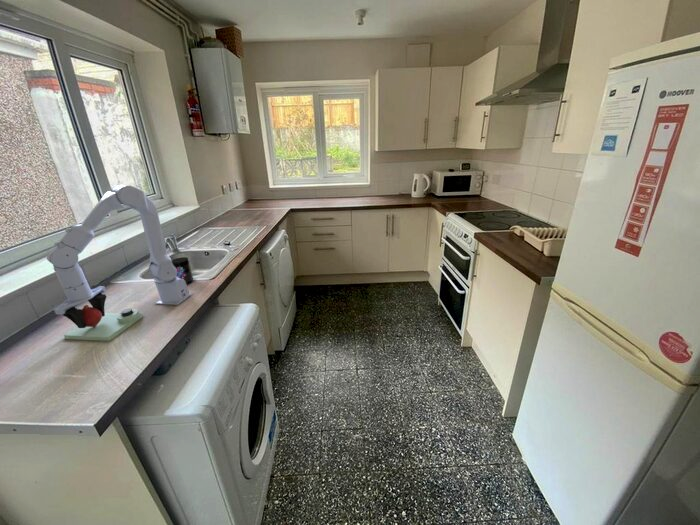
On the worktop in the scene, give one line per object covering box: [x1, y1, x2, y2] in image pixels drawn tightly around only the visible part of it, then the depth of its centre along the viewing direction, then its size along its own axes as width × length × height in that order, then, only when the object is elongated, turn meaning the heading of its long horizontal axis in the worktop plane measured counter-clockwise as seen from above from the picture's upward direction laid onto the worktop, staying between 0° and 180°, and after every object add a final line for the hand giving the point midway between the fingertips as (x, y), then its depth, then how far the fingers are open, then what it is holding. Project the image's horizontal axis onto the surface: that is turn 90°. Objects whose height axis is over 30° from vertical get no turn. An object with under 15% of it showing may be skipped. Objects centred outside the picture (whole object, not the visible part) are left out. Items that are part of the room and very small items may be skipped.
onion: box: [81, 304, 102, 327], centre depth 92 cm, size 6×6×8 cm
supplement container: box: [171, 256, 195, 285], centre depth 124 cm, size 7×7×10 cm
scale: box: [63, 308, 143, 342], centre depth 95 cm, size 16×13×3 cm
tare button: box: [120, 308, 133, 317], centre depth 97 cm, size 3×3×2 cm
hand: (92, 321), depth 93 cm, fingers closed on onion, 6 cm apart
